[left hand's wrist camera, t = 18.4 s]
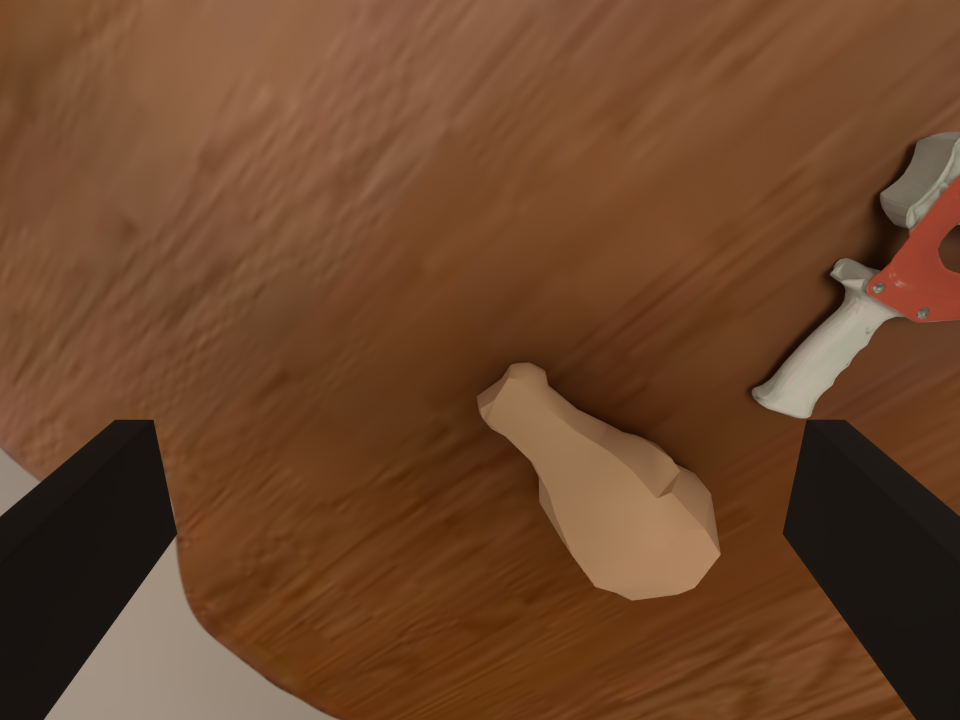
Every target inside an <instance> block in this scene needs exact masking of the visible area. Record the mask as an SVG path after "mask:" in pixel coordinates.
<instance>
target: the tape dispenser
mask: <svg viewBox="0 0 960 720" xmlns="http://www.w3.org/2000/svg"><path fill="white" fill-rule="evenodd" d="M880 202H881V205H882V208H883V210H884V212H885V213H886V215H887V216H888V218H889V219H890V220H891V221H892V222H893V223H894V224H895V225H898V226H900V227H903V228H907V229H909V232H908V237H907V239H906V242H905V243H904V245H903V246H902V248H901V249H900V250H899V251H898V253H897V254H896V255H895V256H894V258H893V259H892V261H891V262H890V263H889V264H888V265H886V267H885V268H884V269H883V270H881V271H880V270H876V269H872V268H868V267H866V266H864V265H862V264H860V263H858V262H856V261H854V260H851V259H848V258H844V259H840V260H839V261H837V262H836V264H835V266H834V269H833V271H832V272H831V273H830V276H832V277H833V278H835V279H836V280H837V281H839V282H840V283H842V284H843V285H844V287H845V289H846V292H845V299H844V301H843V303H842V305H841V306H840V307H839V309H838V310H837V311H835V312H834V313H833V314H832V315H831V316H830V317H829V318H828V319H827V320H826V321H824V322H823V323H822V324H821V325H820V326H819V327H818V328H817V329H816V330H815V331H814V332H813V333H812V334H811V335H810V336H809V337H808V338H807V339H806V340H805V341H804V342H803V343H802V344H801V345H800V346H799V347H798V348H797V349H796V350H795V351H794V352H793V353H792V354H791V355H790V357H789V358H788V359H787V360H786V361H785V362H784V363H783V365H782V366H781V367H780V368H779V370H778V371H777V372H776V373H775V374H774V376H773V377H772V378H771V379H770V380H769V381H767V382H766V383H764V384H763V385H760V386H758V387H755V388H754V389H753V390H752V396H753V398H754V399H755V400H756V401H757V402H758V403H759V404H761V405H762V406H764V407H766V408H768V409H770V410H773V411H776V412H780V413H783V414H787V415H790V416H792V417H796V418H808V417H810V416H811V414H812V410H813V407H814V405H815V403H816V401H817V400H818V398H819V397H820V396H821V394H822V393H823V392H824V391H826V390H827V389H828V388H829V387H831V386H832V385H833V383H834V380H835V378H836V377H837V376H838V374H839V373H840V372H841V371H842V370H844V369H845V368H846V367H848V366H849V364H850V362H851V360H852V358H853V357H854V356H855V355H856V354H857V353H858V352H859V350H861V349H862V348H864V347H865V346H866V345H867V344H868V342H869V340H870V338H871V336H872V335H873V333H874V332H875V330H876V329H877V328H878V327H879V326H880V325H881V324H882V323H883V322H884V321H886V320H887V319H890V318H893V317H906V318H908V319H910V320H912V321H914V322H917V323H921V322H937V321H953V320H960V274H959V273H956V272H952V271H950V270H948V269H946V268H945V267H944V265H943V264H942V262H941V259H940V257H939V253H938V248H939V245H940V243H941V241H942V240H943V239H944V238H945V236H946V235H947V234H948V232H949V231H950V230H951V229H953V228H954V227H955V226H956V225H960V132H945V133H940V134H935V135H932V136H930V137H927V138H924V139H921V140H918V142H917V144H916V148H915V152H914V156H913V158H912V161H911V163H910V165H909V167H908V168H907V170H906V171H905V173H904V174H903V175H902V176H901V178H900V179H899V180H898V181H896V182H895V183H894V184H893V185H891V186H890V187H888V188H887V189H886V190H884V191H883V192H881V194H880Z"/></svg>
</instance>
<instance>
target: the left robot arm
mask: <svg viewBox="0 0 960 720" xmlns="http://www.w3.org/2000/svg"><path fill="white" fill-rule="evenodd" d="M176 535H177V530H176V526H175V521H174V516H173V511H172V507H171V502H170V497H169V492H168V488H167V483H166V478H165V473H164V469H163V464H162V459H161V454H160V449H159V445H158V440H157V435H156V430H155V426H154V421H153V420H114V421H113V422H112V423H111V424H110V425H108V426H107V427H106V428H105V429H104V430H102V431H101V432H100V433H99V434H98V435H97V436H95V437H94V438H93V439H92V440H91V441H89V442H88V443H87V444H86V445H85V446H83V447H82V448H81V449H80V450H79V451H78V452H76V453H75V454H74V455H73V456H72V457H70V458H69V459H68V460H67V461H66V462H64V463H63V464H62V465H61V466H60V467H59V468H57V469H56V470H55V471H54V472H53V473H51V474H50V475H49V476H48V477H47V478H46V479H44V480H43V481H42V482H41V483H40V484H38V485H37V486H36V487H35V488H34V489H33V490H31V491H30V492H29V493H28V494H27V495H25V496H24V497H23V498H22V499H21V500H19V501H18V502H17V503H16V504H15V505H13V506H12V507H11V508H10V509H9V510H8V511H6V512H5V513H4V514H3V515H2V516H0V720H44V719H45V717H46V716H47V714H48V713H49V712H50V710H51V709H52V707H53V706H54V705H55V703H56V702H57V701H58V699H59V698H60V696H61V695H62V694H63V692H64V691H65V689H66V688H67V687H68V685H69V684H70V682H71V681H72V680H73V678H74V677H75V675H76V674H77V673H78V671H79V670H80V669H81V667H82V666H83V664H84V663H85V661H86V660H87V659H88V657H89V656H90V655H91V653H92V652H93V650H94V649H95V648H96V646H97V645H98V643H99V642H100V641H101V639H102V638H103V636H104V635H105V634H106V632H107V631H108V630H109V628H110V627H111V625H112V624H113V623H114V621H115V620H116V618H117V617H118V616H119V614H120V613H121V611H122V610H123V609H124V607H125V606H126V605H127V603H128V602H129V600H130V599H131V598H132V596H133V595H134V593H135V592H136V591H137V589H138V588H139V586H140V585H141V584H142V582H143V581H144V579H145V578H146V577H147V575H148V574H149V572H150V571H151V570H152V568H153V567H154V566H155V564H156V563H157V561H158V560H159V559H160V557H161V556H162V554H163V553H164V552H165V550H166V549H167V547H168V546H169V545H170V543H171V542H172V540H173V539H174V538H175V536H176ZM783 535H784V536H785V538H786V539H787V540H788V542H789V543H790V545H791V546H792V547H793V549H794V550H795V552H796V553H797V554H798V556H799V557H800V559H801V560H802V561H803V563H804V564H805V566H806V567H807V568H808V570H809V571H810V573H811V574H812V575H813V577H814V578H815V579H816V581H817V582H818V584H819V585H820V586H821V588H822V589H823V591H824V592H825V593H826V595H827V596H828V598H829V599H830V600H831V602H832V603H833V605H834V606H835V607H836V609H837V610H838V611H839V613H840V614H841V616H842V617H843V618H844V620H845V621H846V623H847V624H848V625H849V627H850V628H851V630H852V631H853V632H854V634H855V635H856V637H857V638H858V639H859V641H860V642H861V643H862V645H863V646H864V648H865V649H866V650H867V652H868V653H869V655H870V656H871V657H872V659H873V660H874V662H875V663H876V664H877V666H878V667H879V669H880V670H881V671H882V673H883V674H884V676H885V677H886V678H887V680H888V681H889V682H890V684H891V685H892V687H893V688H894V689H895V691H896V692H897V694H898V695H899V696H900V698H901V699H902V701H903V702H904V703H905V705H906V706H907V708H908V709H909V710H910V712H911V713H912V714H913V716H914V717H915V719H916V720H960V516H958V515H957V514H956V513H955V512H954V511H952V510H951V509H950V508H949V507H948V506H947V505H945V504H944V503H943V502H942V501H941V500H939V499H938V498H937V497H936V496H935V495H933V494H932V493H931V492H930V491H929V490H928V489H926V488H925V487H924V486H923V485H922V484H920V483H919V482H918V481H917V480H916V479H914V478H913V477H912V476H911V475H910V474H909V473H907V472H906V471H905V470H904V469H903V468H901V467H900V466H899V465H898V464H897V463H895V462H894V461H893V460H892V459H891V458H890V457H888V456H887V455H886V454H885V453H884V452H882V451H881V450H880V449H879V448H878V447H877V446H875V445H874V444H873V443H872V442H871V441H869V440H868V439H867V438H866V437H865V436H863V435H862V434H861V433H860V432H859V431H858V430H856V429H855V428H854V427H853V426H852V425H850V424H849V423H848V422H847V421H846V420H807V421H806V426H805V430H804V435H803V440H802V445H801V449H800V454H799V459H798V464H797V468H796V473H795V478H794V483H793V488H792V492H791V497H790V502H789V507H788V511H787V516H786V521H785V526H784V530H783Z"/></svg>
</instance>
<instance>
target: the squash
mask: <svg viewBox="0 0 960 720" xmlns="http://www.w3.org/2000/svg"><path fill="white" fill-rule="evenodd" d="M477 402H478V409H479V413H480V415H481V416H482V418H483V419H484V421H485V422H486V423H487V424H488V425H489V427H490V428H491V429H492V430H494V431H496V432H498V433H500V434H502V435H504V436H506V437H507V438H508V439H509V440H510V441H511V442H512V443H513V444H514V445H515V446H516V447H517V448H518V449H519V450H520V451H521V452H522V453H523V454H524V455H525V456H526V457H527V458H528V459H529V460H530V461H531V463H532V465H533V467H534V469H535V471H536V473H537V475H538V477H539V502H540V504H541V506H542V507H543V509H544V511H545V512H546V514H547V516H548V517H549V519H550V521H551V522H552V524H553V526H554V528H555V529H556V531H557V533H558V534H559V536H560V538H561V539H562V541H563V542H564V544H565V545H566V547H567V548H568V550H569V551H570V553H571V554H572V556H573V557H574V558H575V560H576V561H577V562H578V564H579V565H580V567H581V568H582V569H583V571H584V572H585V573H586V575H587V576H588V577H589V579H590V580H591V581H592V583H593V584H594V585H595V587H598V588H601V589H605V590H608V591H612V592H615V593H618V594H620V595H622V596H624V597H626V598H628V599H630V600H640V599H647V598H654V597H662V596H669V595H676V594H680V593H682V592H685V591H688V590H690V589H693V588H695V587H696V585H697V584H698V583H699V581H700V580H701V579H702V578H703V576H704V575H705V574H706V573H707V571H708V570H709V569H710V567H711V566H712V565H713V564H714V562H715V561H716V560H717V559H718V557H719V556H720V548H719V542H718V536H717V529H716V523H715V517H714V511H713V504H712V498H711V493H710V492H709V491H708V490H707V488H706V487H705V486H704V485H703V483H702V482H701V481H700V480H699V478H698V477H697V476H696V474H695V473H693V472H691V471H689V470H687V469H685V468H683V467H681V466H679V465H677V464H675V463H674V462H673V460H672V459H671V458H670V457H669V456H668V455H667V454H666V453H665V452H664V451H663V450H662V449H661V448H660V447H659V446H658V445H657V444H656V443H653V442H651V441H649V440H646V439H644V438H642V437H639V436H637V435H633V434H629V433H625V432H622V431H620V430H618V429H616V428H614V427H613V426H611V425H609V424H607V423H605V422H602V421H600V420H598V419H596V418H594V417H592V416H590V415H588V414H586V413H584V412H582V411H580V410H578V409H576V408H575V407H574V406H573V405H572V404H570V403H569V402H568V401H567V400H566V399H564V398H563V397H562V396H561V395H560V394H558V393H557V392H556V391H555V390H554V389H552V388H551V387H550V386H549V385H548V382H547V377H546V373H545V370H544V369H542V368H540V367H538V366H536V365H534V364H532V363H530V362H523V363H516V364H511V365H510V366H509V368H508V369H507V371H506V373H505V374H504V376H503V377H502V378H501V379H500V380H499V381H497V382H496V383H495V384H493V385H492V386H490V387H489V388H488V389H486V390H485V391H484V392H482V393H481V394H479V395H478V396H477Z"/></svg>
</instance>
